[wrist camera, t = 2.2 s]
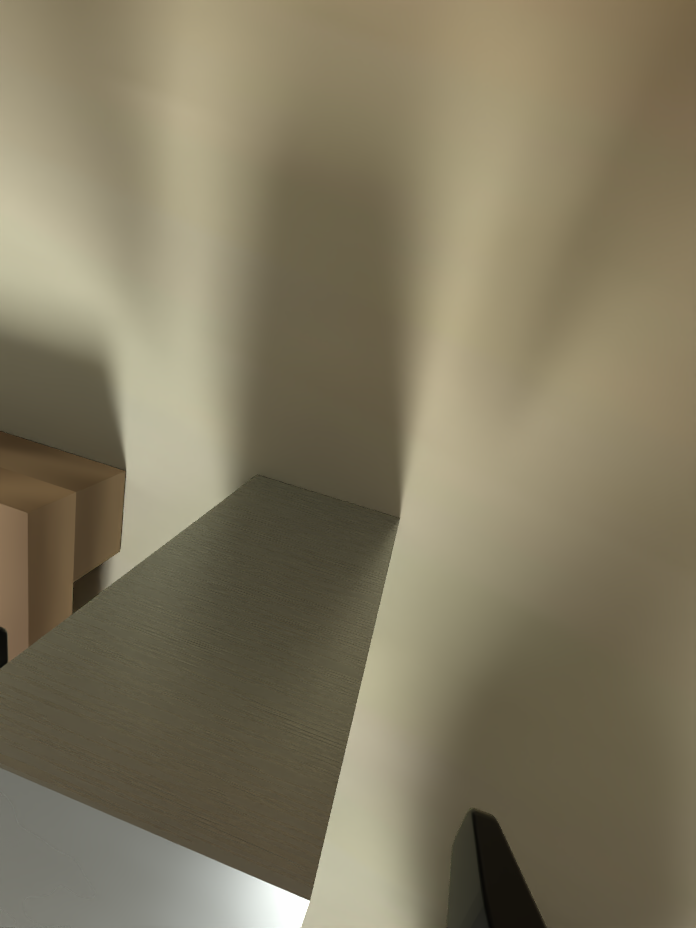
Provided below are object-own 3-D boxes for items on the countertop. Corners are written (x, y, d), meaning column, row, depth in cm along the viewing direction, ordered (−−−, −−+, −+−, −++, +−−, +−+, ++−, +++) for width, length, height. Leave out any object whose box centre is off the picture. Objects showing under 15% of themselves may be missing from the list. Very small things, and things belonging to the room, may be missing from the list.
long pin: (399, 518, 13) (309, 900, 4) (362, 639, 14) (239, 1110, 5) (257, 474, 13) (-84, 732, 5) (235, 595, 14) (-56, 962, 6)
